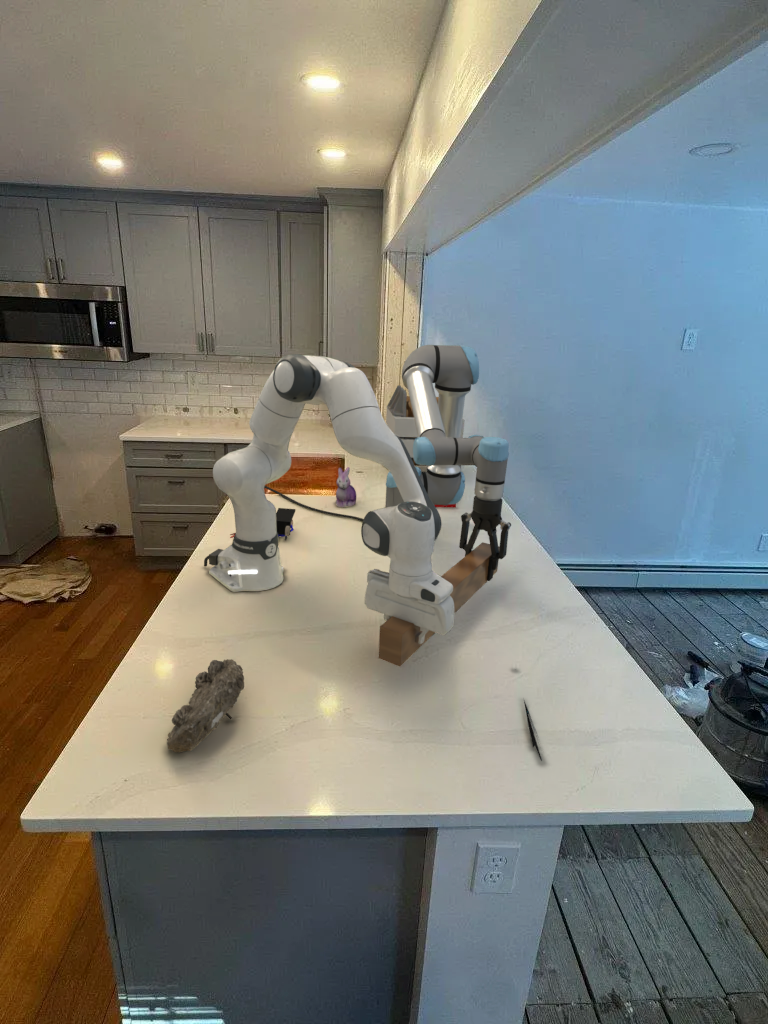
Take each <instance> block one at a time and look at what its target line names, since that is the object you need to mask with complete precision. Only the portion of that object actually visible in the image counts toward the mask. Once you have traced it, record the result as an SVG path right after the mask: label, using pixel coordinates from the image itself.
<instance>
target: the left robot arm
mask: <svg viewBox="0 0 768 1024" xmlns="http://www.w3.org/2000/svg"><path fill="white" fill-rule="evenodd" d="M307 404H308V405H314V406H321V405H325V406H326V407H327V411H328V413H329V417H330V422H331V425H332V430H333V432H334V436H335V438H336V441H337V443H338V444H339V446H340V448H342V449H343V450H344V451H345V452H347V453H348V454H349V455H352V456H354V457H356V458H359V459H363V460H368V461H371V462H373V463H376V464H379V465H381V466H383V467H384V468H385V469H387V470H388V472H389V471H390V473H391V474H392V476H393V478H394V480H395V483H396V485H397V487H398V489H399V492H400V494H401V496H402V498H403V501H404V502H402V503H400V504H398V505H397V506H393V507H381V508H375V509H373V510H369V511H368V512H367V513H366V514H365V516H364V517H363V518H362V519H363V521H361V528H360V532H361V533H360V535H361V540H362V542H363V545H364V546H365V547H366V548H367V549H368V550H370V551H371V552H373V553H375V554H377V555H380V556H382V557H388V558H389V561H390V562H389V568H388V569H389V570H388V571H389V572H387V571H383V570H380V569H378V568H374V569H370V570H369V571H368V573H367V574H366V582H367V585H366V589H365V593H364V605H365V607H366V609H368V610H371V611H374V612H376V613H379V614H382V615H383V619H384V621H385V622H386V621H387V620H388V619H390V618H391V617H392V616H393V617H396V618H399V619H402V620H405V621H408V622H410V623H413V624H414V625H416V626H419V627H420V631H423V632H422V633H420V632H419V633H418V634H417V635H416V636H415V642H416V643H419V644H422V643H423V642H424V639H425V634H426V633H427V632H428V631H429V630H430V631H433V632H435V633H436V634H439V635H441V636H445V635H446V634H448V633H449V632H451V630H452V629H453V627H454V625H455V614H454V601H453V599H452V597H451V596H450V594H451V593H452V591H453V585H452V584H451V583H450V582H448V581H447V580H445V579H443V578H442V577H441V576H442V575H439V574H438V573H437V572H435V571H434V570H433V563H432V556H433V554H434V551H435V542H436V540H437V539H438V537H439V535H440V532H441V529H442V517H441V514H440V512H439V510H438V508H437V507H435V505H434V504H433V502H432V501H431V499H430V498H429V496H428V494H427V492H426V490H425V488H424V485H423V483H422V481H421V479H420V476H419V474H418V472H417V470H416V468H415V467H416V466H415V465H414V463H413V461H412V459H411V457H410V454H409V452H408V450H407V448H406V446H405V445H404V443H403V441H402V440H401V439H400V438H399V437H398V436H396V435H395V434H394V433H393V432H392V431H391V430H390V429H389V427H388V426H387V423H386V420H385V419H384V417H383V415H382V412H381V410H380V406H379V402H378V400H377V397H376V394H375V392H374V390H373V387H372V385H371V383H370V381H369V379H368V377H367V376H366V374H365V372H364V371H363V370H361V369H360V368H357V367H355V366H354V365H353V364H351V363H349V362H348V361H346V360H342V359H336V358H332V357H328V356H323V355H303V354H300V353H291V354H286V355H284V356H282V357H281V358H280V359H278V361H277V362H276V363H275V366H274V369H273V371H272V372H271V373H270V375H269V376H268V378H267V380H266V381H265V382H264V386H263V387H262V389H261V392H260V394H259V396H258V399H257V401H256V404H255V406H254V409H253V411H252V413H251V416H250V418H249V423H248V424H249V428H250V431H251V432H252V434H253V436H252V440H251V442H250V443H249V444H248V445H247V446H246V447H243V448H240V449H237V450H234V451H230V452H228V453H227V454H225V455H223V456H221V458H219V459H218V460H217V461H216V462H215V463H214V465H213V468H212V478H213V482H214V484H215V485H216V487H217V488H218V490H220V491H222V493H224V494H225V495H226V496H227V497H228V498H229V500H230V502H231V505H232V508H233V513H234V524H235V525H234V526H235V532H233V533H230V534H229V536H230V537H229V539H232V538H233V539H232V543H231V544H230V545H229V546H227V547H226V548H224V549H222V548H217V549H216V550H214V551H213V552H211V553H209V554H208V555H207V556H206V557H205V558H204V560H203V566H204V567H208V564H209V566H213V567H211V568H210V569H209V571H208V574H209V575H210V576H211V577H212V578H214V580H217V581H218V582H219V583H220V584H221V585H223V586H224V588H227V590H229V591H230V592H233V593H235V592H260V591H268V590H271V589H274V588H277V587H278V586H280V585H281V584H282V583H283V581H284V571H285V569H284V568H285V567H284V566H283V565H282V559H281V552H280V546H279V544H280V543H279V538H280V536H279V537H278V533H277V531H276V512H277V508H276V506H275V504H274V503H273V502H271V501H270V500H268V499H267V497H266V492H265V488H264V486H267V484H270V483H273V482H275V481H277V480H279V479H280V478H282V477H283V476H285V474H286V473H288V471H289V470H290V469H291V467H292V455H291V453H290V452H291V451H290V450H289V447H290V442H291V440H292V439H291V438H292V435H293V434H294V431H295V429H296V426H297V424H298V422H299V420H300V418H301V415H302V413H303V411H304V408H305V406H306V405H307Z"/></svg>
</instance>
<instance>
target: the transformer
mask: <svg viewBox="0 0 768 1024" xmlns="http://www.w3.org/2000/svg"><path fill="white" fill-rule="evenodd" d="M407 394H408V393H407V389H404V388H403V387H402V385H399V384H398V385H397V386H396V388H395V390H394V392H393V394H392V395H391V398H390V400H389V402H388V404H387V405H386V413H385V414H386V415H385V423H386V424H387V426H388V427H389V429H390V430H391V431H392V432H393V433H394V434H395V435H396V436H398V437H399V438H400V439H401V440H402V441H403V443H404V445H405V446H406V448H407V450H408V452H409V454H410V457H411V459H412V461H413V463H414V465H415V467H427V465H418V464H416V463H415V461H414V458H413V443H414V440H415V439H416V438H418V433H417V429H416V424H415V420H414V415H413V411H412V406H411V401H410V397H409V395H407ZM438 397H439V396H436V400H437V403H438ZM464 429H465V419H464V418H462V426H461V435H460V438H464V431H465V430H464ZM458 466H459V467H460V468H461V469H462V465H458Z"/></svg>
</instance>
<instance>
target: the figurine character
mask: <svg viewBox="0 0 768 1024" xmlns="http://www.w3.org/2000/svg"><path fill="white" fill-rule="evenodd" d="M295 513H296V508H285V507H278V508H277V509H276V531H277V533H278V537H279V538H280V537H281V538H284V541H287V540H288V537H290V536H291V533H292V532H294V530H295V529H294V526H293V525H294V519H293V518H294V516H295Z"/></svg>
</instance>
